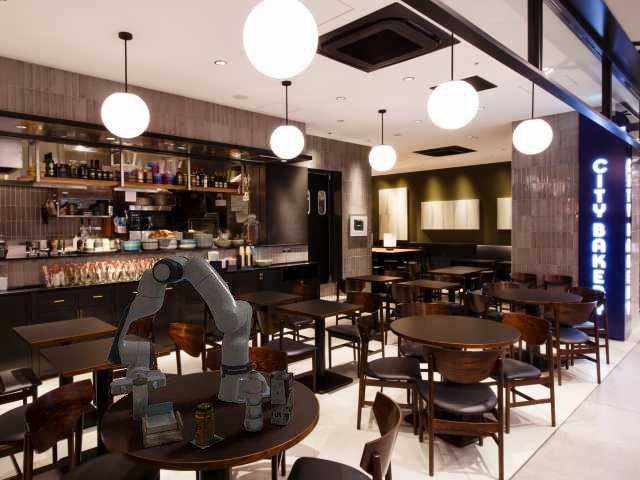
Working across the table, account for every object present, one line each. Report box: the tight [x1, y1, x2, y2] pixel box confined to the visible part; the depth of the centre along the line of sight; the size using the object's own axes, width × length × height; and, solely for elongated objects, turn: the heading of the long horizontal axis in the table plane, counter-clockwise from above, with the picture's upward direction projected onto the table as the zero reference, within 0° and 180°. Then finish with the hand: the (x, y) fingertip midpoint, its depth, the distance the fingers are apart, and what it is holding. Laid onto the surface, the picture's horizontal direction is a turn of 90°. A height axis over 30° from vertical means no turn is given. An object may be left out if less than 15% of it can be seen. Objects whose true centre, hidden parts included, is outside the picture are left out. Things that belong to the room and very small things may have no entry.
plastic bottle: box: [243, 370, 264, 433], centre depth 150 cm, size 6×7×20 cm
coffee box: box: [270, 371, 295, 426], centre depth 159 cm, size 9×6×16 cm
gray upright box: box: [269, 369, 286, 402], centre depth 175 cm, size 7×7×12 cm
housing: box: [141, 410, 185, 449], centre depth 146 cm, size 12×12×5 cm
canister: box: [132, 378, 149, 421], centre depth 161 cm, size 5×5×14 cm
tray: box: [145, 401, 177, 434], centre depth 154 cm, size 10×13×6 cm
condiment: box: [190, 402, 225, 450], centre depth 143 cm, size 7×8×12 cm
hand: (139, 390), depth 167 cm, fingers open, 8 cm apart
